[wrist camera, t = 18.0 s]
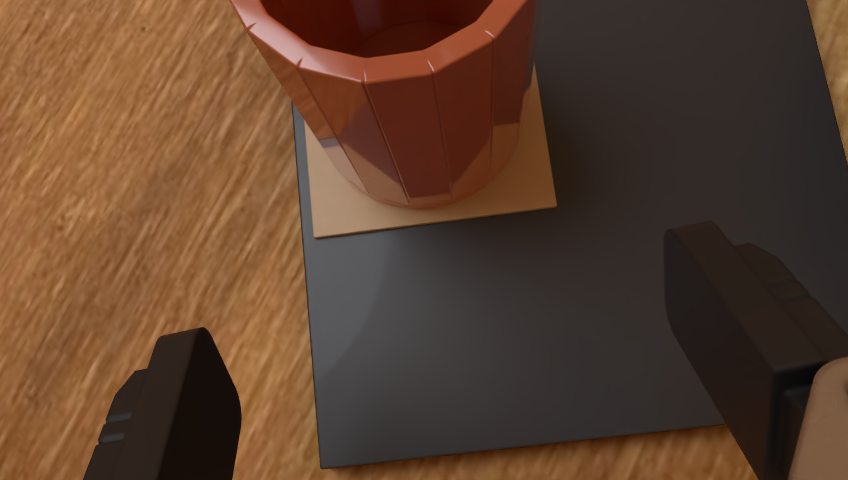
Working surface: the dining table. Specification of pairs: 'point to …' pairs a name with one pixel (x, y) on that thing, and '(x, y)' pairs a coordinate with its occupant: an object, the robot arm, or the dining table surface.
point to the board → (574, 237)
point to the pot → (405, 87)
